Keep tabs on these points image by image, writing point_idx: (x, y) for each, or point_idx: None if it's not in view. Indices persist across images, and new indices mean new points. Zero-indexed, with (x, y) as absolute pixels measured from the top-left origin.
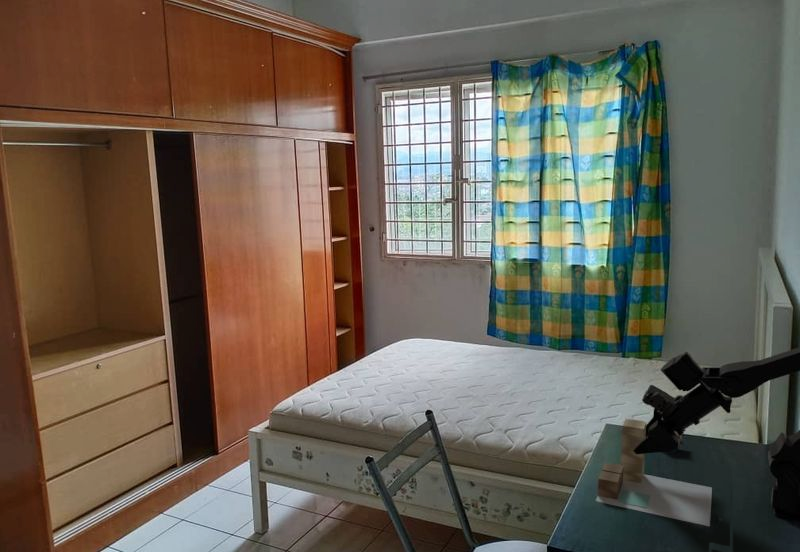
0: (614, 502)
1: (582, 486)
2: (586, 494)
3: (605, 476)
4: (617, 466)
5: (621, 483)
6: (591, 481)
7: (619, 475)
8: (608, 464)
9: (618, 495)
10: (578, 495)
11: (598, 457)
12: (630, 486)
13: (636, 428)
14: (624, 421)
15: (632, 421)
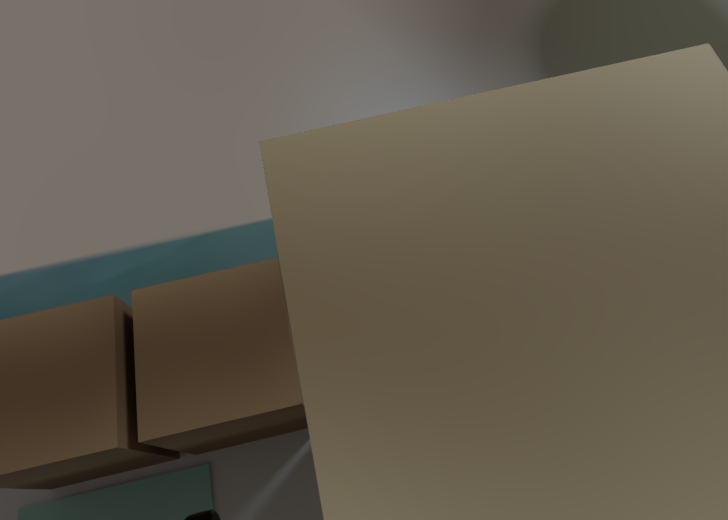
0: (6, 490)
1: (188, 239)
2: (107, 293)
3: (24, 358)
4: (255, 365)
5: (246, 438)
6: (275, 251)
7: (91, 447)
8: (249, 293)
9: (115, 474)
10: (75, 265)
11: None
12: (291, 497)
13: (315, 466)
14: (522, 87)
15: (673, 213)
